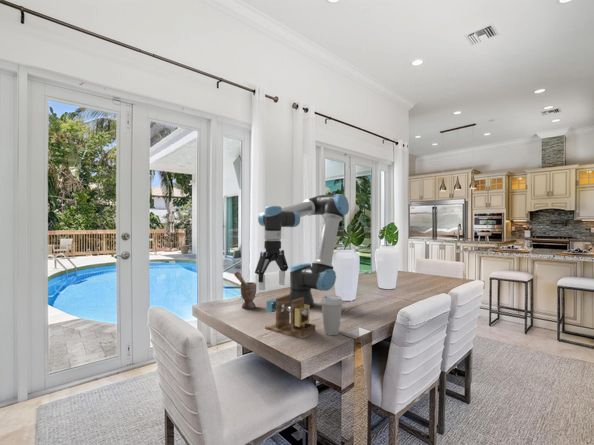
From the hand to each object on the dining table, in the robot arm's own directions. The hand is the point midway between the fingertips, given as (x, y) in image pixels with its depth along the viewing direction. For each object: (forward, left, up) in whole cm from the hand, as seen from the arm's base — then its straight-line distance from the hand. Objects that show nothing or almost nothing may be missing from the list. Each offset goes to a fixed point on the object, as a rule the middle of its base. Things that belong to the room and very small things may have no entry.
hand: (272, 287), depth 140 cm
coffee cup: (+26, +9, -18) cm, 32 cm away
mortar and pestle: (-30, +13, -18) cm, 37 cm away
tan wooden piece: (+16, 0, -10) cm, 19 cm away
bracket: (+10, 0, -17) cm, 20 cm away
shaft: (+9, 0, -11) cm, 14 cm away
